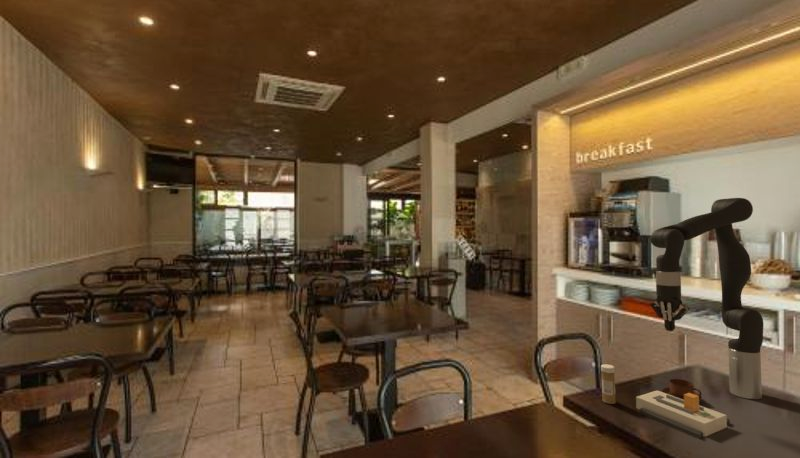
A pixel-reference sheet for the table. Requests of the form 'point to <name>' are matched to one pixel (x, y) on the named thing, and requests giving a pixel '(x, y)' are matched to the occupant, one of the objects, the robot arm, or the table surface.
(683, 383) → the cup and saucer
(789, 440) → the table surface
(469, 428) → the table surface
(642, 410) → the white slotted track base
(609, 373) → the sprinkles bottle
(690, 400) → the breaker toggle
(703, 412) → the slider base
